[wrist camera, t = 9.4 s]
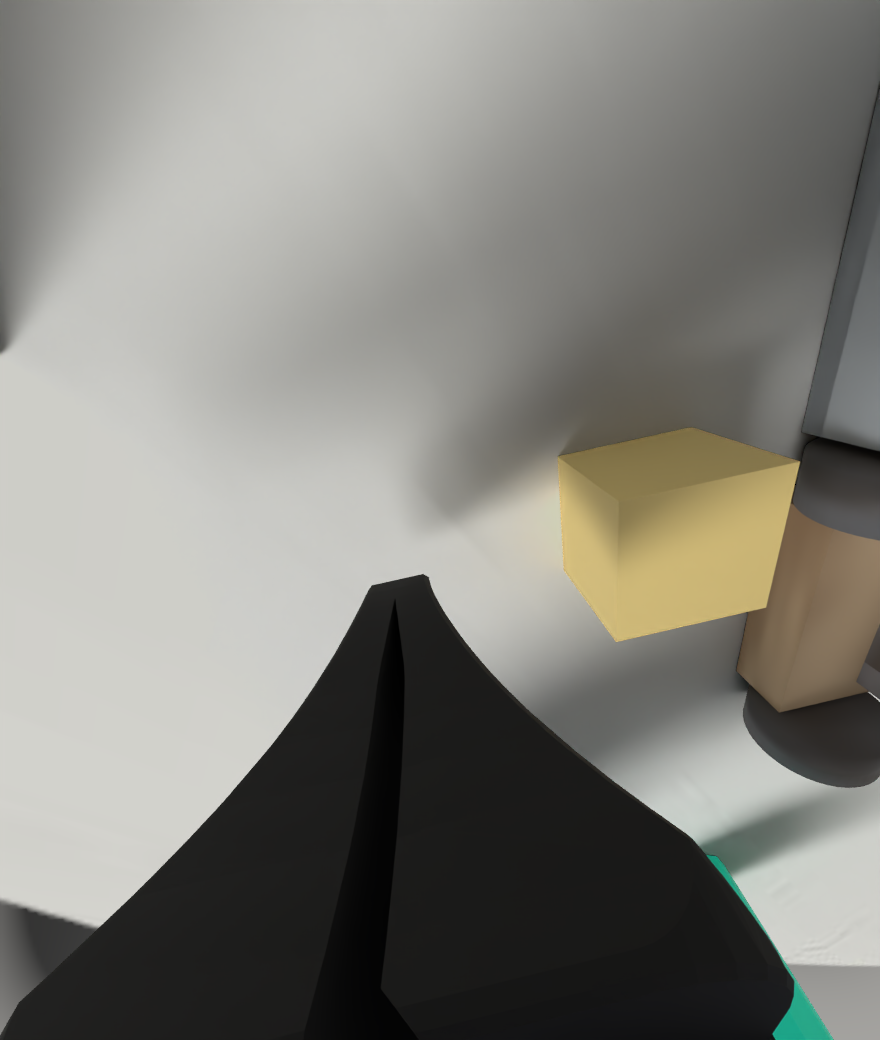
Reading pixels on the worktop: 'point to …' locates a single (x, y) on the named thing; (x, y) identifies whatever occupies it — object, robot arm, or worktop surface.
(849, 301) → the tray
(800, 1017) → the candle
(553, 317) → the worktop surface
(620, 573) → the yellow cube
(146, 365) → the worktop surface
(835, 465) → the trolley
